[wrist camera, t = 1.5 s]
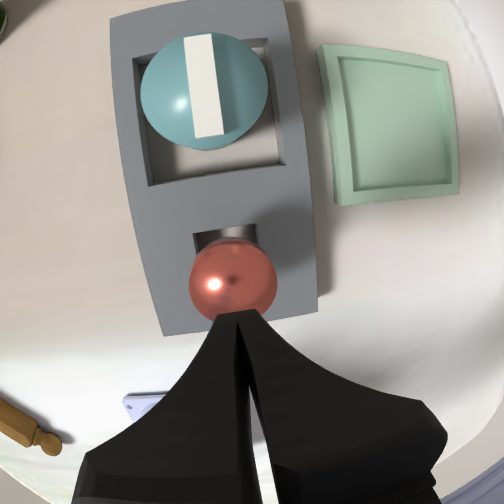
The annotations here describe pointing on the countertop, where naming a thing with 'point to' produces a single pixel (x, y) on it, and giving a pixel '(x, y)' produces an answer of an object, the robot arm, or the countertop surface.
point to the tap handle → (26, 430)
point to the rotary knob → (204, 90)
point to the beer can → (3, 18)
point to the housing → (223, 183)
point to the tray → (388, 124)
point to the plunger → (232, 278)
